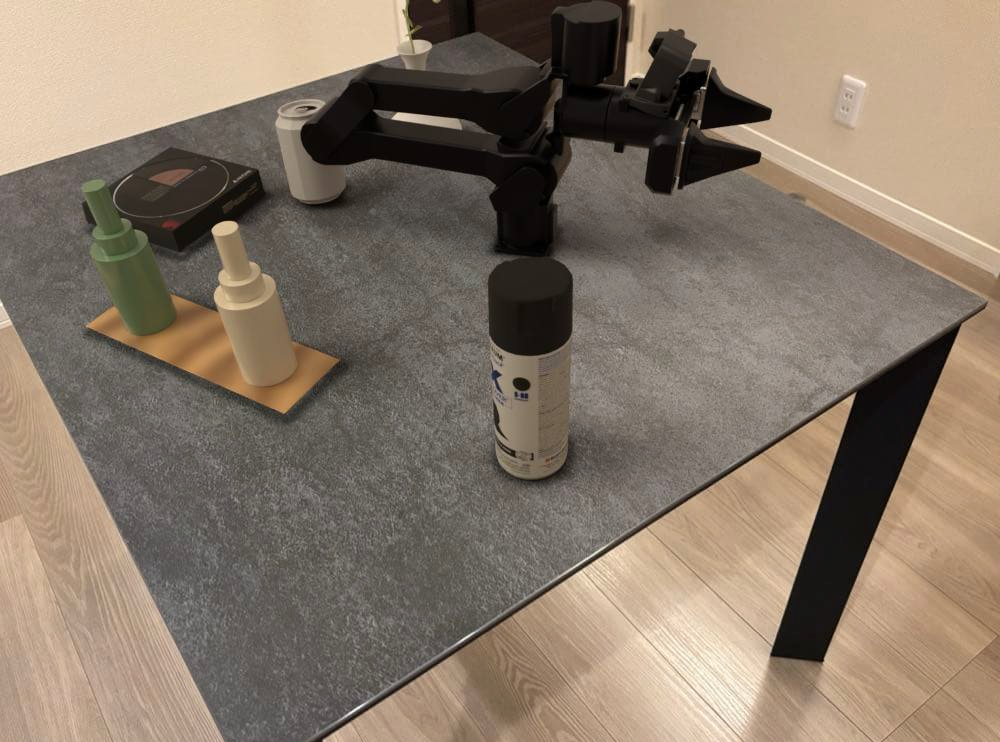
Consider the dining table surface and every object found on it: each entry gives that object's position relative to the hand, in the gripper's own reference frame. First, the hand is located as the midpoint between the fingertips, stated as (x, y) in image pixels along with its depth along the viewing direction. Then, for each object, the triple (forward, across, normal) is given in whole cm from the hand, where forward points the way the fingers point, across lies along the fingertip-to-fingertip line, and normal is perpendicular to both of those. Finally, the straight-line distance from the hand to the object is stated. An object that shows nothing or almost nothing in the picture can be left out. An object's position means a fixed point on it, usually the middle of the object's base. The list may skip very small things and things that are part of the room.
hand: (766, 135), depth 82 cm
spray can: (-14, -33, +17) cm, 40 cm away
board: (-52, -29, +19) cm, 62 cm away
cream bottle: (-43, -31, +17) cm, 56 cm away
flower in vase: (-47, +22, +19) cm, 55 cm away
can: (-55, +3, +18) cm, 58 cm away
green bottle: (-61, -27, +18) cm, 69 cm away
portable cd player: (-72, -5, +20) cm, 75 cm away
